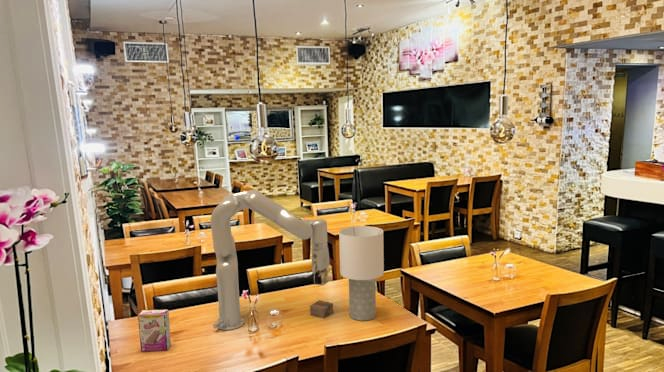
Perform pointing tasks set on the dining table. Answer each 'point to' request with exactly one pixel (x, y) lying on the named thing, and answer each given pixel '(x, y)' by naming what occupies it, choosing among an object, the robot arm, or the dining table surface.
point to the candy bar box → (154, 330)
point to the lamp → (361, 267)
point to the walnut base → (321, 309)
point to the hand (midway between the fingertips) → (320, 281)
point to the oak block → (323, 277)
